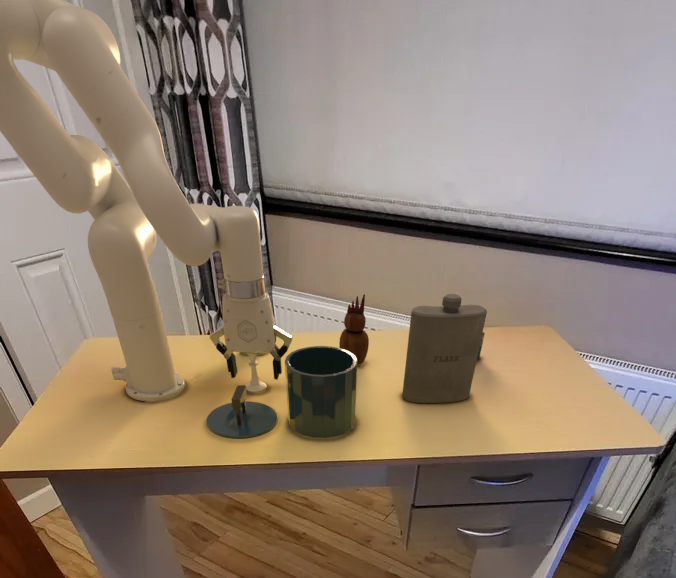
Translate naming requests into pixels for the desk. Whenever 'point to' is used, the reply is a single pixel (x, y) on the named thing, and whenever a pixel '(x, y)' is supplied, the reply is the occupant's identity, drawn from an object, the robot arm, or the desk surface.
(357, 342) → the wooden figurine
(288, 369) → the pot
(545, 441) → the desk surface
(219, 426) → the lid
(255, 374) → the chess piece
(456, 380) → the flask
